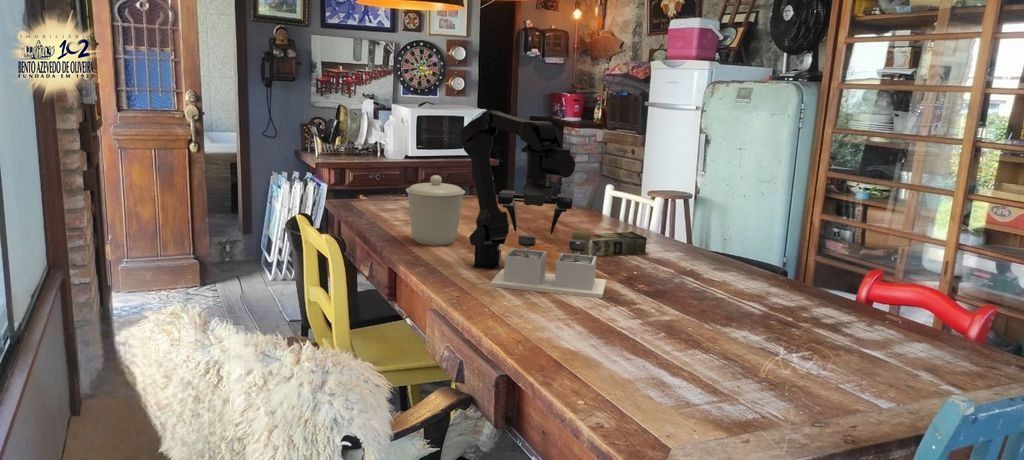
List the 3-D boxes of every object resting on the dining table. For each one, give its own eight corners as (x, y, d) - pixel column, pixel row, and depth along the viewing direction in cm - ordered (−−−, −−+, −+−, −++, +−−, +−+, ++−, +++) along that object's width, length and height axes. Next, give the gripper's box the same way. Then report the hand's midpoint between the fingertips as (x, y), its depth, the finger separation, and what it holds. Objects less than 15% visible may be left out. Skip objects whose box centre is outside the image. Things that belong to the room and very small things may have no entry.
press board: (490, 286, 182) (491, 257, 181) (502, 272, 196) (503, 245, 194) (602, 298, 177) (604, 268, 176) (606, 283, 191) (608, 255, 189)
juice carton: (587, 258, 218) (589, 238, 216) (573, 250, 227) (575, 231, 225) (646, 256, 225) (648, 237, 224) (630, 249, 234) (631, 230, 233)
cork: (588, 272, 200) (591, 233, 198) (566, 270, 201) (569, 231, 199) (590, 267, 206) (593, 229, 204) (569, 265, 207) (572, 227, 205)
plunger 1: (510, 260, 184) (511, 238, 183) (515, 254, 190) (516, 232, 189) (536, 262, 182) (538, 240, 181) (541, 256, 189) (542, 235, 188)
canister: (460, 250, 218) (463, 180, 214) (400, 247, 218) (401, 177, 214) (465, 237, 236) (468, 173, 231) (409, 234, 236) (411, 170, 231)
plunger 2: (561, 265, 181) (562, 243, 180) (564, 259, 188) (566, 237, 187) (588, 267, 180) (590, 245, 179) (591, 261, 187) (592, 239, 185)
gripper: (496, 173, 176) (493, 236, 179) (573, 179, 174) (569, 242, 177) (501, 168, 186) (498, 227, 190) (574, 173, 185) (570, 232, 188)
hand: (533, 232), depth 186 cm, fingers open, 9 cm apart
